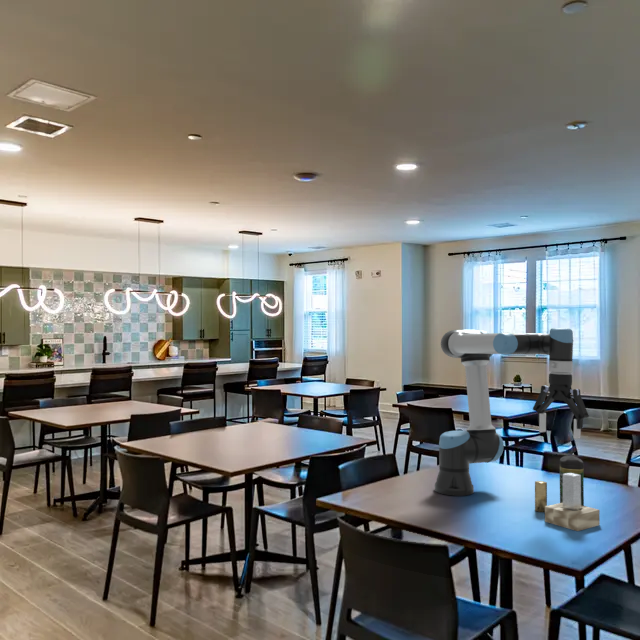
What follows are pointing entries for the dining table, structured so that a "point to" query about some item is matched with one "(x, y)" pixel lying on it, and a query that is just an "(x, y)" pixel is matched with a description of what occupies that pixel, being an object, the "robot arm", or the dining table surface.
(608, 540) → the dining table surface
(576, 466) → the coffee jar
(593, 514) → the socket block
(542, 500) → the round bit
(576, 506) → the square bit
